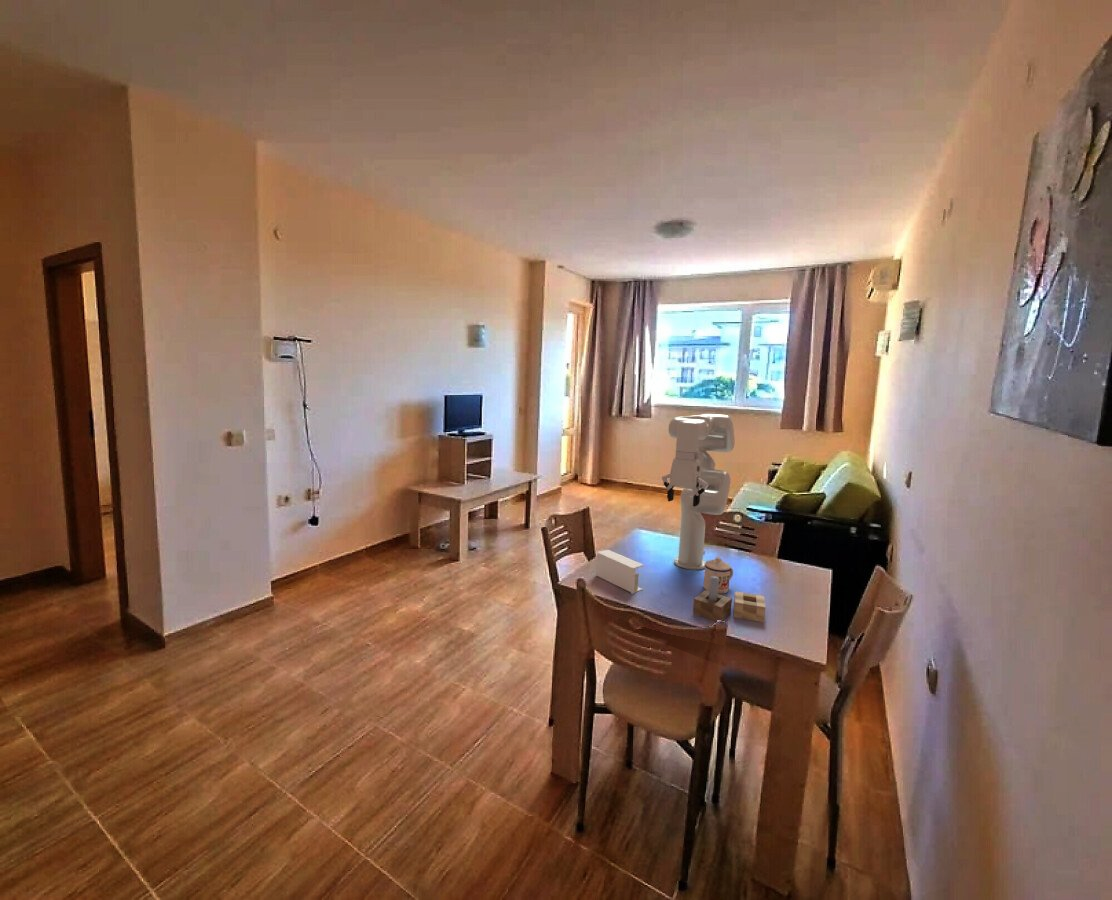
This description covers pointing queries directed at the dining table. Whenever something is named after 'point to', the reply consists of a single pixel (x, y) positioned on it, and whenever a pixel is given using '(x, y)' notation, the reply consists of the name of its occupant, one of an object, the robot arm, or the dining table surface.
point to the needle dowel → (713, 588)
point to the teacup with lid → (718, 574)
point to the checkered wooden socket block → (749, 606)
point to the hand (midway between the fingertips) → (682, 503)
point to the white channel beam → (618, 570)
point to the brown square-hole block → (712, 606)
